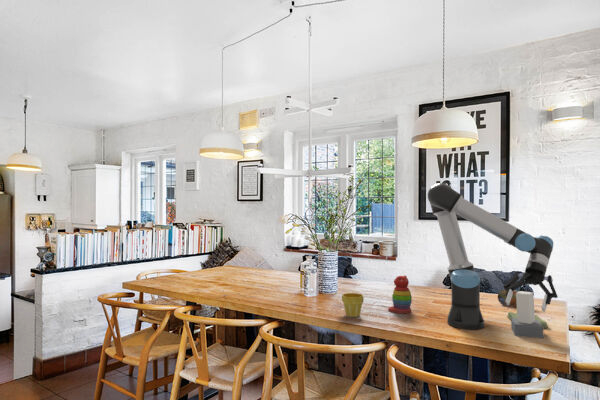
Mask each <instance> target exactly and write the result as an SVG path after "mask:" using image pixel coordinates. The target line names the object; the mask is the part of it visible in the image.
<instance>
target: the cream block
mask: <svg viewBox="0 0 600 400" xmlns="http://www.w3.org/2000/svg"><path fill="white" fill-rule="evenodd" d="M518 291H519V292H517V293H516V304H517V307H516V313H517V322H521V323H527V324H532V323H534V322H535V315H536V313H535V299H534V298H535V297H534V295H535V294H534V292H531V291H525V290H523V291H522V290H518Z"/></svg>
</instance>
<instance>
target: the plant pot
mask: <svg viewBox="0 0 600 400" xmlns="http://www.w3.org/2000/svg"><path fill="white" fill-rule="evenodd" d="M341 302H342V303H343V307H344V312H345V315H346V316H347V317H349V316H350V318H357V317H360V315H361V311H362V305H363V303H364V294H362V293H357V292H348V293H343V294H342V295H341Z"/></svg>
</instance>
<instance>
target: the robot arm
mask: <svg viewBox="0 0 600 400" xmlns="http://www.w3.org/2000/svg"><path fill="white" fill-rule="evenodd" d="M427 200H428V202H429V204H430V208H431V212H432V215H433V216H436V217H437V223H438V225H439V228H440V229H439V230H440V232H441V237H442V241H443V244H444V247H445V250H446V251H445V252H446V256H447V258H448V262H449V265H448V267H447V270H448V276H449V279H450V283H451V288H450V289H451V290H450V291H451V294H450V295H451V296H450V297H451V298H450V299H451V304H450V305H451V306H450V309H449V312H448V315H447V317H446V318H447V324H448V325H449V326H451V327H454V328H459V329H465V330H481V329H483V328H485V320H484V317H483V314H482V311H481V305H480V300H481V299H480V291H481V289H480V287H481V286H480V283H481V278H480V275H479V273H478V272H477V271H476V270H475V267H474V264H473V263H472V262H470V261H469V258H468V255H467V254H468V253H467V251H466V247H465V244H464V240H463V236H462V232H461V229H460V224H459V221H458V219H457V218H458V217H457V215H458V216H459V217H461V218H462V219H465V220H466V221H468V222H470V223H471V224H473V225H475V226H477V227H479V228H481V229H482V230H484V231H486V232H488V233H489V234H491V235H493V236H495V237H496V238H498V239H500V240H502V241H503V242H504V243H506V244H508V245H509V246H512V247H514V248H515V249H517V250H518V251H520V252H524V253H526V252H527V253H529V257H528V260H527V263H526V266H525V269H524V272H523V273H521V272H519V271H516V272H515V273H514V275H513V276H512V277H511V278H510V279H508V280H507V282H505V283H504V284H503V290H507V291H506V294H505V295H506V297H507V298H506V301H505V302H506V304H507V305H508V306H507V307H510V306H509V304H510V301H511V298H512V295H513V292H512V291H517V289H519V288H521V287H522V286H526V285H527V284H528V285H533V286H538V285H539V287H540V288H541V289H542V290H543V293H545V294H544V297H543V300H542V304H541V307H540V308H541V310H542V312H543V313H546V310H547V306H548V305H551V301H552V299H557V298H558V293H557V291H556V288H555V286H554V284H553V281H554V280H553V276H552V275H551V274H549V275H547V276H546V272H547V269H548V266H549V262H550V258H551V255H552V252H553V250H554V241H553V239H552V238H551V237H549V236H547V235H542V234H541V235H537V236H536V237H535V236H533V235H531V234H530V233H527V232H525V231H523V230H521V228H518V227H516V226H515V225H512V224H511V223H509V222H507V221H505V220H503V219H502V218H501V217H499V216H496V215H494V214H492V213H491V212H489V211H487V210H485V209H483V208H482V207H481V206H480V207H479V206H478V205H476V204H475V203H472V202H471V201H469V200H468V199H465V198H464V197H463V194H461V193H459V192H458V191H456V190H455V189H453V188H452V187H451V186H450V185H448V184H447V183H444V182H440V183H439V182H438V183H435V184H433V185H431V187H430V188H429V189H428V192H427ZM544 281H546V282H547V283H548V284H549V288H550V290H551V291H550V290H549V289H548V288H547V287H546V285H545V284H544V283H543V282H544Z"/></svg>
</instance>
